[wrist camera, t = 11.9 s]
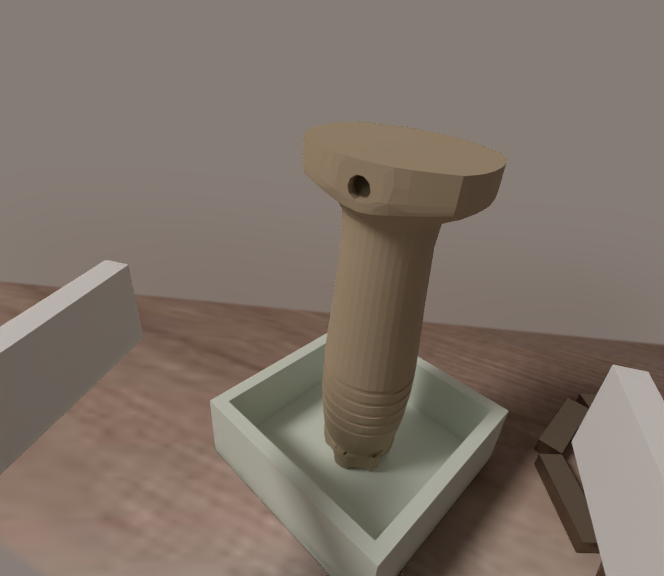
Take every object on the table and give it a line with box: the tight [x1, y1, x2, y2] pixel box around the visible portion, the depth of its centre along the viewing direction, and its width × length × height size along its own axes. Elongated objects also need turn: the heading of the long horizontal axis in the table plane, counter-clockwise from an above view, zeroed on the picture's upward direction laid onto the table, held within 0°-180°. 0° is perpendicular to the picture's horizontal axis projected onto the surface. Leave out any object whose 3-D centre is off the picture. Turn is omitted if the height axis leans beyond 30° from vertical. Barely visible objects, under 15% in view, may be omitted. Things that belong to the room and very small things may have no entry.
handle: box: [303, 122, 507, 471], centre depth 18 cm, size 5×6×15 cm
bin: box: [210, 333, 509, 576], centre depth 21 cm, size 10×10×4 cm
